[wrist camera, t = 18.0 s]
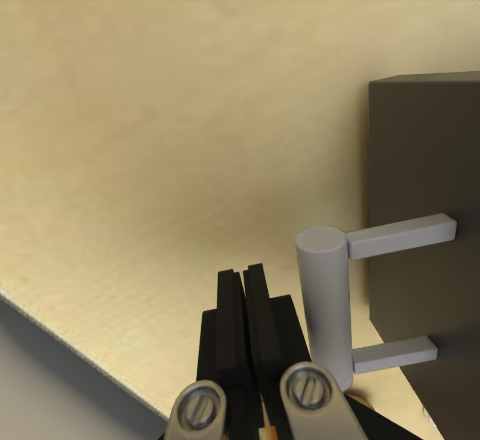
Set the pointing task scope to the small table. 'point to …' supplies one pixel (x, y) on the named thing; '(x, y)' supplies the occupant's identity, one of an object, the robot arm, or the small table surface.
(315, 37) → the small table surface
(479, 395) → the drawer
